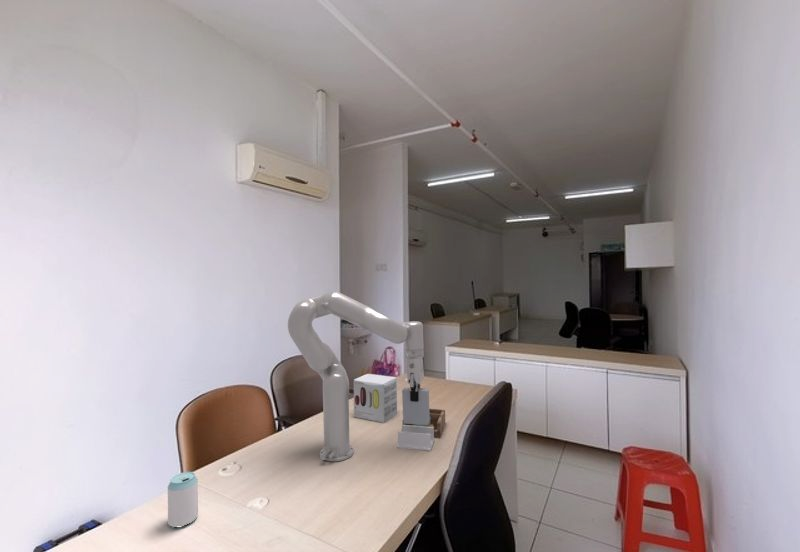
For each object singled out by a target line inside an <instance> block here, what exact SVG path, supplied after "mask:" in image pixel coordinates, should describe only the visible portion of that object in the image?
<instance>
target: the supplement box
mask: <svg viewBox="0 0 800 552" xmlns="http://www.w3.org/2000/svg"><path fill="white" fill-rule="evenodd" d="M397 379H398V378H397V376H391V375H390V376H389V375H382V374H375V373H374V374H373V373H366V374H364V375H362V376H359V377H357V378H355V379H353V418H358V419H363V420H368V421H372V422H376V423H382V424H385V423H387V422H388V421H389V420H390V419H393V418H394V417H396V416H397V415H398V387H397V385H398V384H397Z"/></svg>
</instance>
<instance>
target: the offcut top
mask: <svg viewBox="0 0 800 552" xmlns="http://www.w3.org/2000/svg"><path fill="white" fill-rule="evenodd" d="M430 424H431V417H430V422H429V425H430ZM429 425H420V424H415V426H422V427H427V426H429Z"/></svg>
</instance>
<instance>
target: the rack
mask: <svg viewBox="0 0 800 552" xmlns="http://www.w3.org/2000/svg"><path fill="white" fill-rule="evenodd" d="M429 411H430V417H431V424H433V426H434V439H441V437H442V433H443V431H444V428H445V426H446V410H445V409H441V408H429ZM401 421H402V425H410V426H412V425H415V424H405V423H403V419H402V420H401Z"/></svg>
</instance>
